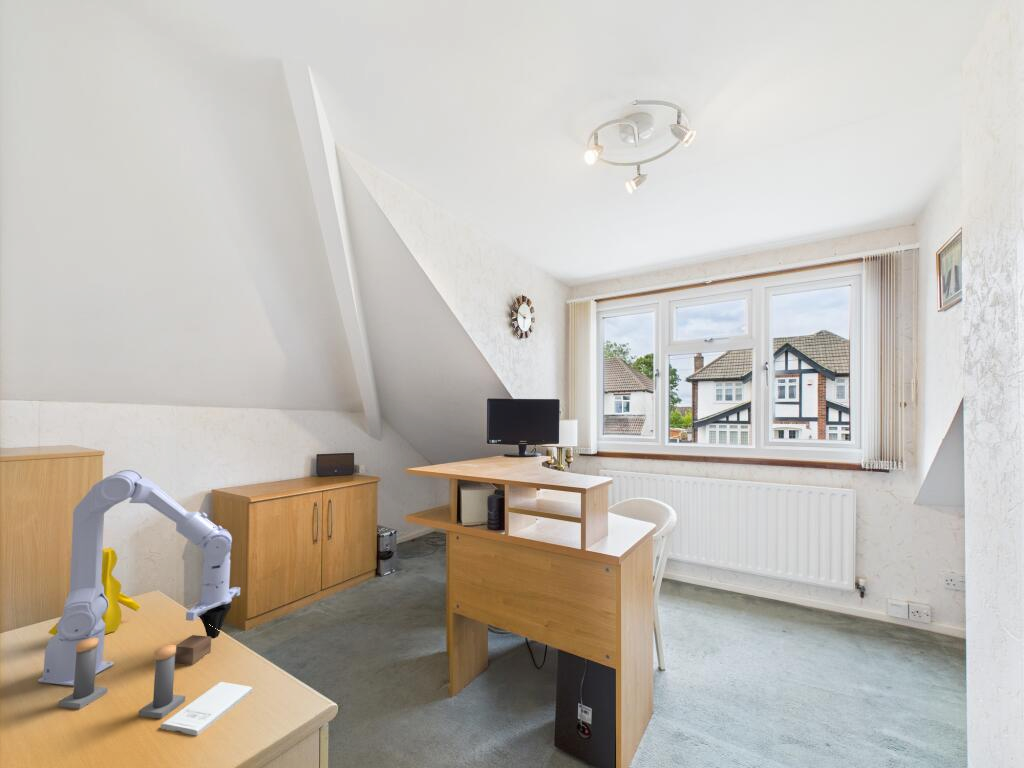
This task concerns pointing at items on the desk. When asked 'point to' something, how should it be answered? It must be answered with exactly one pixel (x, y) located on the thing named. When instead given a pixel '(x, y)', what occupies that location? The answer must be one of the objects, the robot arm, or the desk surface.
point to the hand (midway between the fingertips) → (212, 636)
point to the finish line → (89, 692)
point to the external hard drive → (207, 708)
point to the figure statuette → (111, 594)
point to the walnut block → (192, 649)
